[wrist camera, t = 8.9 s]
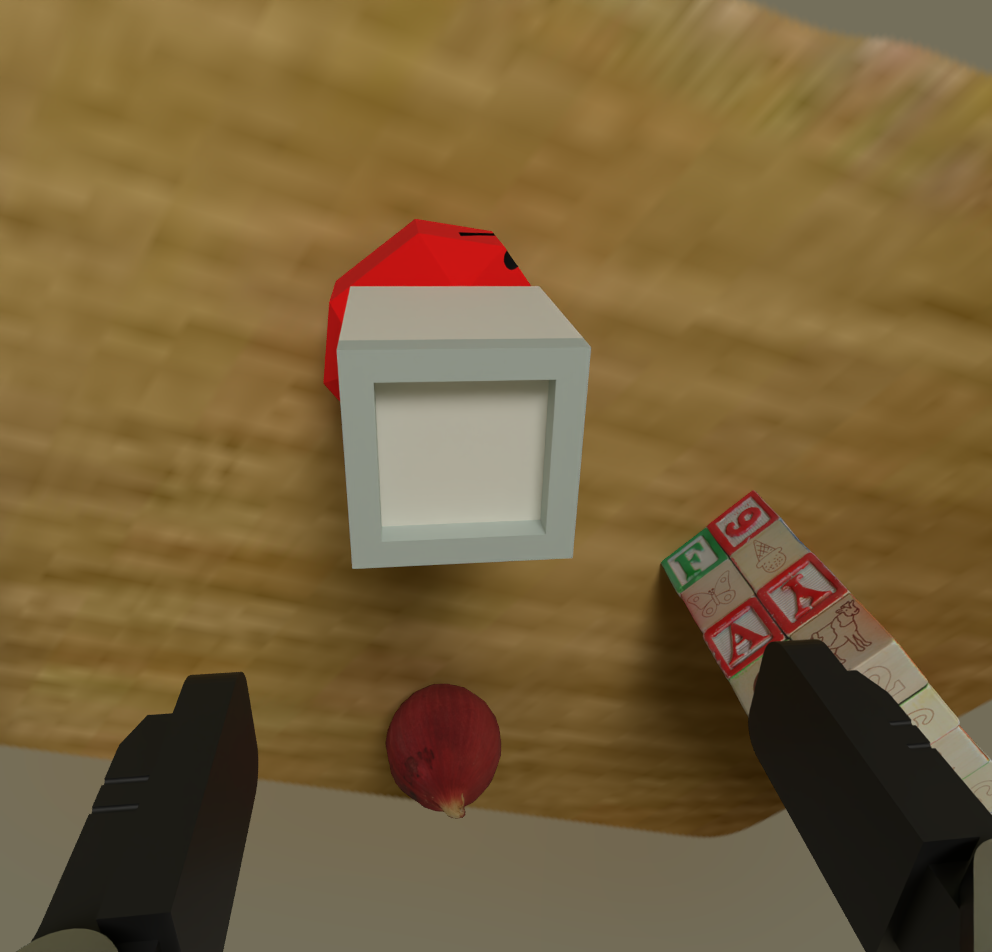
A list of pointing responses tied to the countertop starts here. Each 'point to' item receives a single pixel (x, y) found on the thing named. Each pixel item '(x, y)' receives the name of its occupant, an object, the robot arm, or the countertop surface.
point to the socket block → (460, 424)
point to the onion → (443, 747)
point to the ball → (421, 271)
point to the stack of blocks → (803, 622)
